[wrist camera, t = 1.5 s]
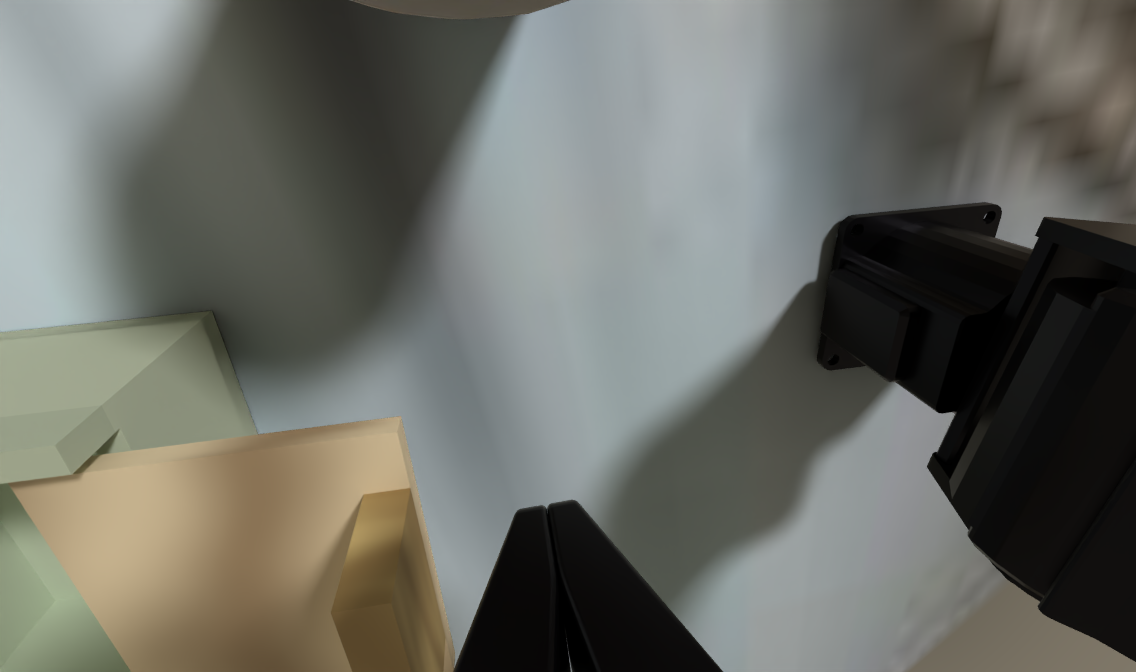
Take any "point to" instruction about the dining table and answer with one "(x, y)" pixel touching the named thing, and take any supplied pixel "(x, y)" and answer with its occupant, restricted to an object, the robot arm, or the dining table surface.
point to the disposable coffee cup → (461, 7)
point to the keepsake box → (93, 453)
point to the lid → (254, 552)
